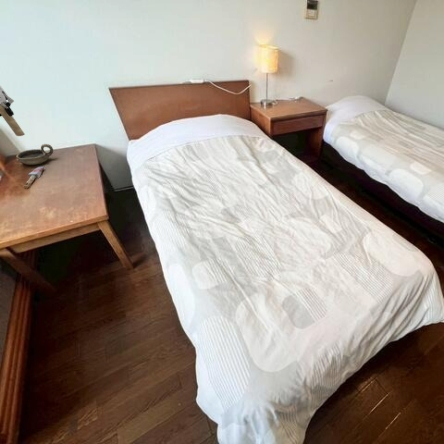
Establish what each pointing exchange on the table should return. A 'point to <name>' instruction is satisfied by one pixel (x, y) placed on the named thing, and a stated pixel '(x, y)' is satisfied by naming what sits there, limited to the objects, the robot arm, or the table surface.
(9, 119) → the stick
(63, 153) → the table surface
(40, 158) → the bowl
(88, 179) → the table surface
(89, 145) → the table surface
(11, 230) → the table surface
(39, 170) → the paintbrush
